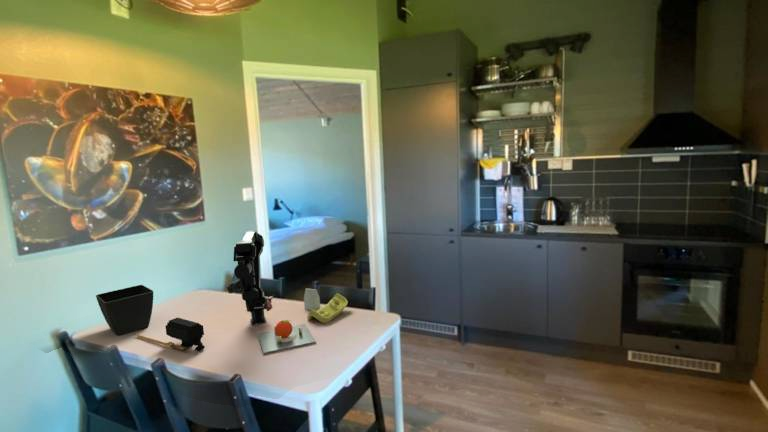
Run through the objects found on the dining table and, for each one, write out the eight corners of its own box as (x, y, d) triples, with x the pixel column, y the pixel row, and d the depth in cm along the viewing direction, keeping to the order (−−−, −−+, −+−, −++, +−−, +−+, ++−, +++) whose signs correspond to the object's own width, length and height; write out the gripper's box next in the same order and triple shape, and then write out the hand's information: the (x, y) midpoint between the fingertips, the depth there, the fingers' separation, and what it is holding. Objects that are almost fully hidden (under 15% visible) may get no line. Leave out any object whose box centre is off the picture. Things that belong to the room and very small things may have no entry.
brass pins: (274, 333, 171) (274, 327, 171) (299, 328, 175) (298, 322, 175) (279, 344, 161) (278, 337, 160) (304, 339, 165) (304, 332, 164)
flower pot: (100, 329, 188) (95, 294, 186) (146, 317, 201) (141, 283, 199) (110, 340, 175) (104, 302, 172) (158, 326, 188) (154, 291, 186)
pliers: (280, 297, 222) (280, 293, 222) (269, 311, 202) (268, 306, 202) (260, 298, 222) (259, 294, 222) (246, 312, 202) (246, 307, 202)
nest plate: (257, 335, 173) (257, 333, 173) (304, 325, 180) (304, 323, 180) (263, 354, 155) (263, 352, 154) (315, 343, 162) (315, 341, 162)
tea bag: (315, 311, 198) (314, 291, 197) (304, 309, 201) (303, 289, 200) (320, 308, 201) (318, 288, 200) (309, 306, 205) (308, 287, 203)
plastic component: (326, 319, 180) (309, 307, 184) (322, 332, 183) (305, 320, 187) (351, 302, 197) (335, 291, 201) (347, 314, 200) (331, 303, 204)
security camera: (194, 354, 158) (191, 329, 156) (166, 345, 167) (163, 321, 166) (210, 347, 164) (207, 323, 162) (182, 338, 173) (179, 315, 172)
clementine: (292, 331, 172) (291, 315, 171) (297, 337, 166) (296, 320, 165) (273, 336, 169) (272, 319, 168) (278, 342, 163) (276, 325, 162)
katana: (138, 338, 178) (137, 332, 178) (187, 351, 160) (186, 344, 160) (135, 339, 177) (134, 333, 177) (183, 352, 159) (182, 346, 159)
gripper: (225, 270, 174) (228, 305, 176) (226, 280, 157) (230, 320, 159) (252, 266, 178) (255, 300, 180) (257, 276, 161) (260, 314, 163)
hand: (250, 308), depth 170 cm, fingers open, 9 cm apart
